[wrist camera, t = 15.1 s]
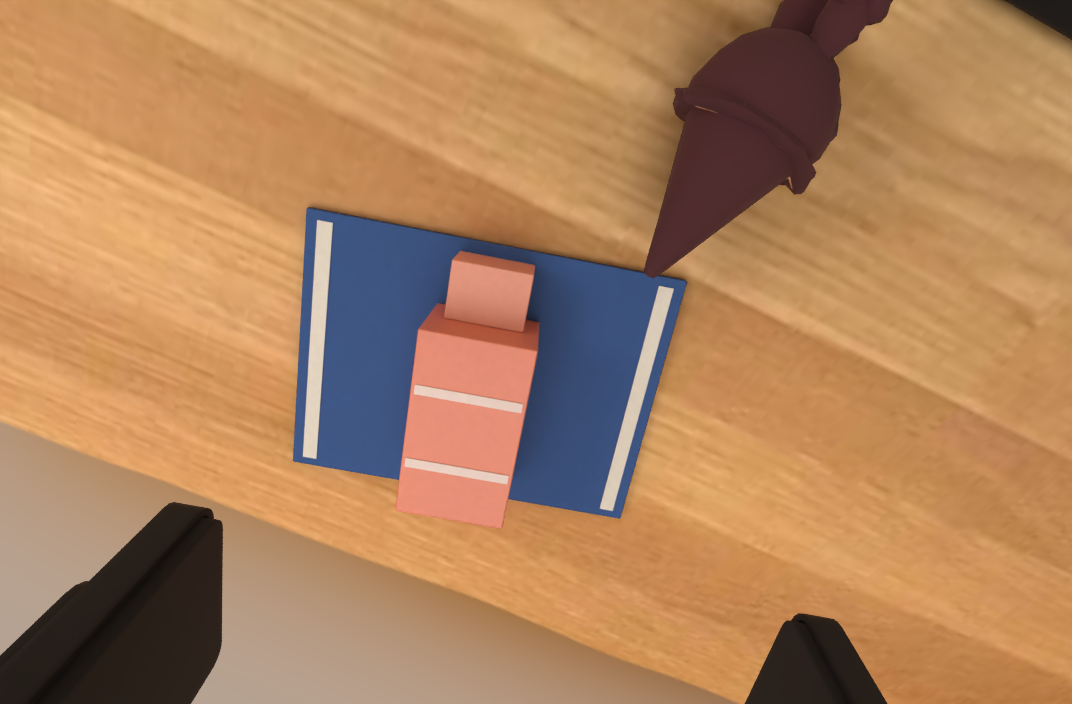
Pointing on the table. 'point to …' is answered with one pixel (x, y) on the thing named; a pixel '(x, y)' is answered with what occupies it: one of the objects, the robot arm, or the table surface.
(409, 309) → the cloth
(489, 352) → the red rectangular block
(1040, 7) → the device stand
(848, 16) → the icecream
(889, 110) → the table surface
